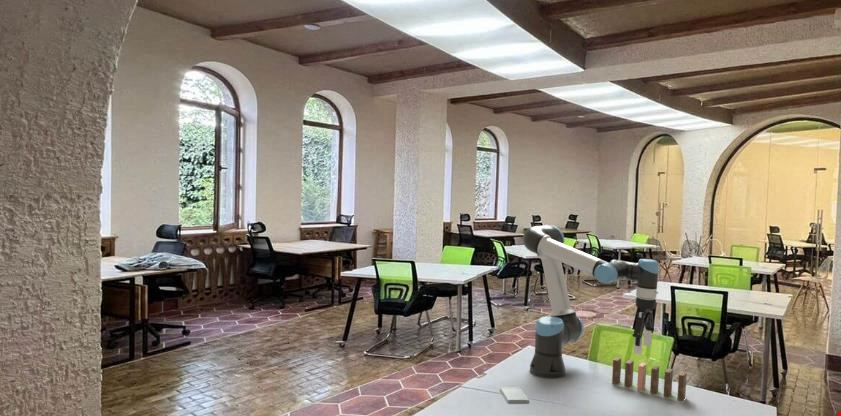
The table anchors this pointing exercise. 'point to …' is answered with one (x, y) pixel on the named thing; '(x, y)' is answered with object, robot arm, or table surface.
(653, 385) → the domino
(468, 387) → the table surface
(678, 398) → the domino
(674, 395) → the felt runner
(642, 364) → the domino
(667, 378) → the domino
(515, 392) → the hard drive
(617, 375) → the domino
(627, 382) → the domino
